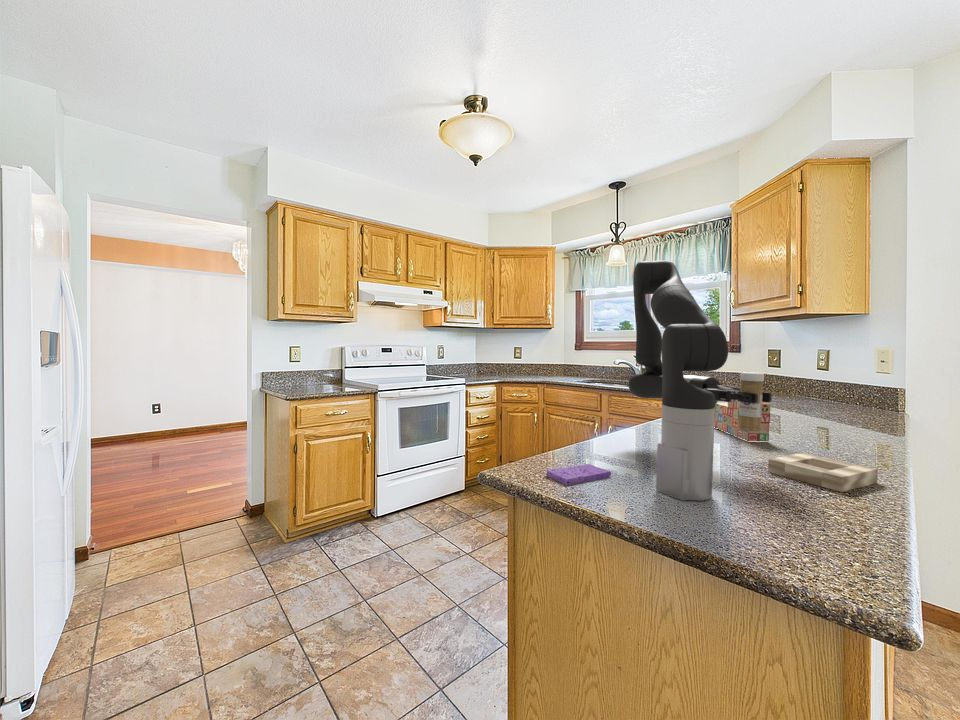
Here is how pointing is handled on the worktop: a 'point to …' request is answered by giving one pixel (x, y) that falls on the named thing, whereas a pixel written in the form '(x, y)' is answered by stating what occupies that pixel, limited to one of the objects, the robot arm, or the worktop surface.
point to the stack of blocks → (730, 421)
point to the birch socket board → (823, 471)
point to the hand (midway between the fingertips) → (763, 398)
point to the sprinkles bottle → (751, 411)
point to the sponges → (578, 474)
